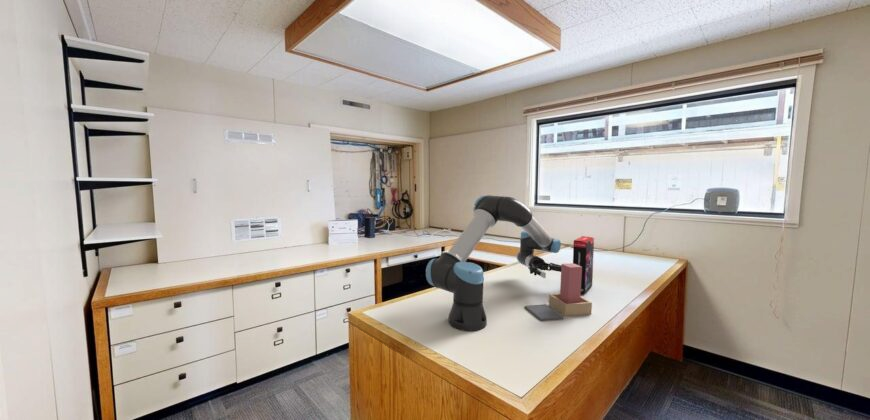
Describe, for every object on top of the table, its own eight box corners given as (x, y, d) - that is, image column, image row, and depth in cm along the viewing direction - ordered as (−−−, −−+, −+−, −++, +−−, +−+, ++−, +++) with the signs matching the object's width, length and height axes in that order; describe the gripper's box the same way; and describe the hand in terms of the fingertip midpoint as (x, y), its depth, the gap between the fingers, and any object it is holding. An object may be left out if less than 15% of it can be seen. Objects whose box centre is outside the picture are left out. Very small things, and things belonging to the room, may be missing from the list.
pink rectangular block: (567, 312, 142) (569, 267, 140) (559, 307, 148) (561, 263, 146) (579, 311, 143) (582, 266, 142) (571, 306, 149) (573, 263, 147)
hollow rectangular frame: (565, 316, 138) (565, 304, 138) (548, 304, 151) (549, 294, 150) (591, 313, 141) (591, 302, 140) (573, 303, 153) (573, 292, 153)
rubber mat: (541, 321, 133) (541, 318, 133) (524, 307, 147) (524, 305, 147) (563, 319, 135) (563, 316, 135) (545, 306, 149) (545, 304, 149)
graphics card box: (584, 295, 164) (587, 241, 162) (570, 292, 168) (573, 239, 166) (592, 286, 178) (595, 237, 175) (578, 284, 182) (581, 235, 179)
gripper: (555, 268, 178) (581, 280, 158) (513, 271, 173) (533, 283, 152) (556, 255, 178) (581, 265, 157) (513, 257, 172) (534, 268, 152)
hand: (558, 274), depth 155 cm, fingers open, 13 cm apart
